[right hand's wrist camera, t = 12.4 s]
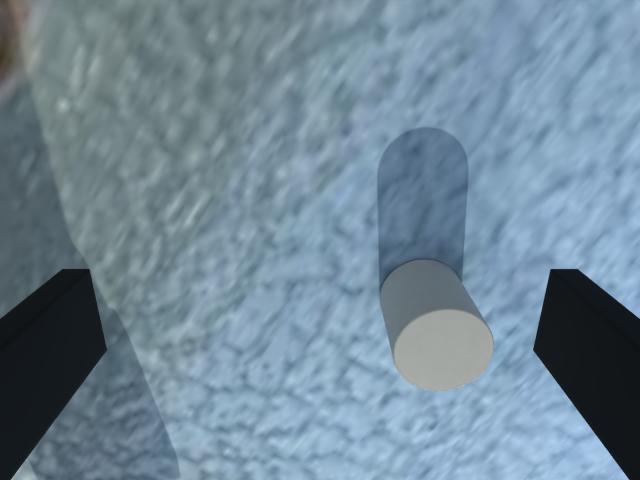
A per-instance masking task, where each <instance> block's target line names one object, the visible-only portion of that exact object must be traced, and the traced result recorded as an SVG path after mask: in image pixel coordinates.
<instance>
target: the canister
mask: <svg viewBox="0 0 640 480" xmlns="http://www.w3.org/2000/svg"><path fill="white" fill-rule="evenodd" d="M380 304H381V308H382V313H383V317H384V321H385V326H386V330H387V334H388V338H389V343H390V347H391V351H392V355H393V360H394V364H395V366H396V368H397V370H398V372H399V373H400V374H401V375H402V377H403V378H404V379H406V380H407V381H408V382H409V383H411V384H413V385H415V386H417V387H419V388H422V389H426V390H432V391H446V390H452V389H456V388H459V387H462V386H464V385H466V384H468V383H470V382H472V381H473V380H474V379H476V378H477V377H478V376H479V375H480V374H481V373H482V372H483V371H484V370H485V369H486V367H487V366H488V364H489V362H490V360H491V358H492V355H493V350H494V340H493V336H492V332H491V330H490V328H489V327H488V325H487V323H486V322H485V320H484V318H483V317H482V315H481V314H480V312H479V310H478V309H477V307H476V305H475V304H474V302H473V300H472V299H471V297H470V296H469V294H468V292H467V291H466V289H465V287H464V286H463V284H462V283H461V281H460V279H459V278H458V276H457V275H456V273H455V272H454V271H453V270H452V269H451V268H449V267H448V266H447V265H445V264H443V263H441V262H438V261H434V260H427V259H421V260H414V261H410V262H407V263H405V264H403V265H401V266H399V267H398V268H396V269H395V270H394V271H393V272H392V273H391V274H390V275H389V276H388V277H387V278H386V280H385V282H384V283H383V286H382V288H381V292H380Z"/></svg>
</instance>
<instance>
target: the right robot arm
mask: <svg viewBox="0 0 640 480" xmlns="http://www.w3.org/2000/svg"><path fill="white" fill-rule="evenodd" d="M106 350H107V348H106V344H105V339H104V334H103V330H102V325H101V321H100V316H99V311H98V307H97V302H96V298H95V293H94V288H93V284H92V279H91V274H90V270H89V269H62V270H61V271H59V272H58V273H57V274H56V275H54V276H53V277H52V278H51V279H49V280H48V281H47V282H46V283H45V284H43V285H42V286H41V287H40V288H38V289H37V290H36V291H35V292H33V293H32V294H31V295H30V296H28V297H27V298H26V299H25V300H23V301H22V302H21V303H20V304H18V305H17V306H16V307H15V308H13V309H12V310H11V311H10V312H8V313H7V314H6V315H5V316H3V317H2V318H1V319H0V480H11V479H12V477H13V476H14V475H15V473H16V472H17V470H18V469H19V468H20V466H21V465H22V464H23V462H24V461H25V460H26V458H27V457H28V456H29V454H30V453H31V452H32V450H33V449H34V448H35V446H36V445H37V444H38V442H39V441H40V439H41V438H42V437H43V435H44V434H45V433H46V431H47V430H48V429H49V427H50V426H51V425H52V423H53V422H54V421H55V419H56V418H57V417H58V415H59V414H60V412H61V411H62V410H63V408H64V407H65V406H66V404H67V403H68V402H69V400H70V399H71V398H72V396H73V395H74V394H75V392H76V391H77V390H78V388H79V387H80V386H81V384H82V383H83V381H84V380H85V379H86V377H87V376H88V375H89V373H90V372H91V371H92V369H93V368H94V367H95V365H96V364H97V363H98V361H99V360H100V359H101V357H102V356H103V354H104V353H105V352H106ZM533 350H534V352H535V353H536V354H537V356H538V357H539V359H540V360H541V361H542V363H543V364H544V365H545V367H546V368H547V369H548V371H549V372H550V373H551V375H552V376H553V377H554V379H555V380H556V381H557V383H558V384H559V386H560V387H561V388H562V390H563V391H564V392H565V394H566V395H567V396H568V398H569V399H570V400H571V402H572V403H573V404H574V406H575V407H576V408H577V410H578V411H579V412H580V414H581V415H582V417H583V418H584V419H585V421H586V422H587V423H588V425H589V426H590V427H591V429H592V430H593V431H594V433H595V434H596V435H597V437H598V438H599V439H600V441H601V442H602V444H603V445H604V446H605V448H606V449H607V450H608V452H609V453H610V454H611V456H612V457H613V458H614V460H615V461H616V462H617V464H618V465H619V466H620V468H621V469H622V470H623V472H624V473H625V475H626V476H627V477H628V479H629V480H640V319H639V318H638V317H637V316H635V315H634V314H633V313H632V312H630V311H629V310H628V309H627V308H625V307H624V306H623V305H622V304H620V303H619V302H618V301H617V300H615V299H614V298H613V297H612V296H610V295H609V294H608V293H607V292H605V291H604V290H603V289H602V288H600V287H599V286H598V285H597V284H595V283H594V282H593V281H592V280H591V279H589V278H588V277H587V276H586V275H584V274H583V273H582V272H581V271H579V270H578V269H551V270H550V274H549V279H548V284H547V288H546V293H545V298H544V302H543V307H542V311H541V316H540V321H539V325H538V330H537V334H536V339H535V344H534V348H533Z"/></svg>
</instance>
